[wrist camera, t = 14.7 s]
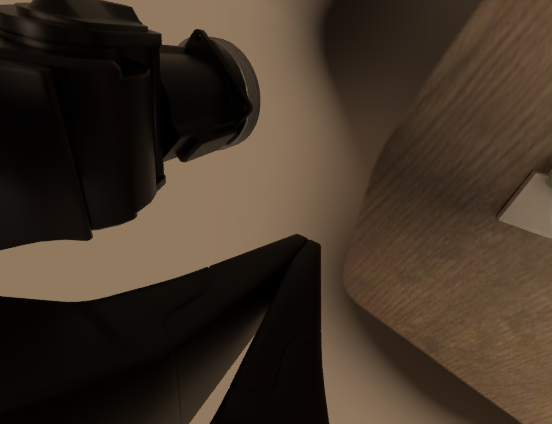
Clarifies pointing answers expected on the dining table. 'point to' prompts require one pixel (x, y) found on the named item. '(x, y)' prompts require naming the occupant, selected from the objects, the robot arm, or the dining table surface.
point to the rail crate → (531, 205)
